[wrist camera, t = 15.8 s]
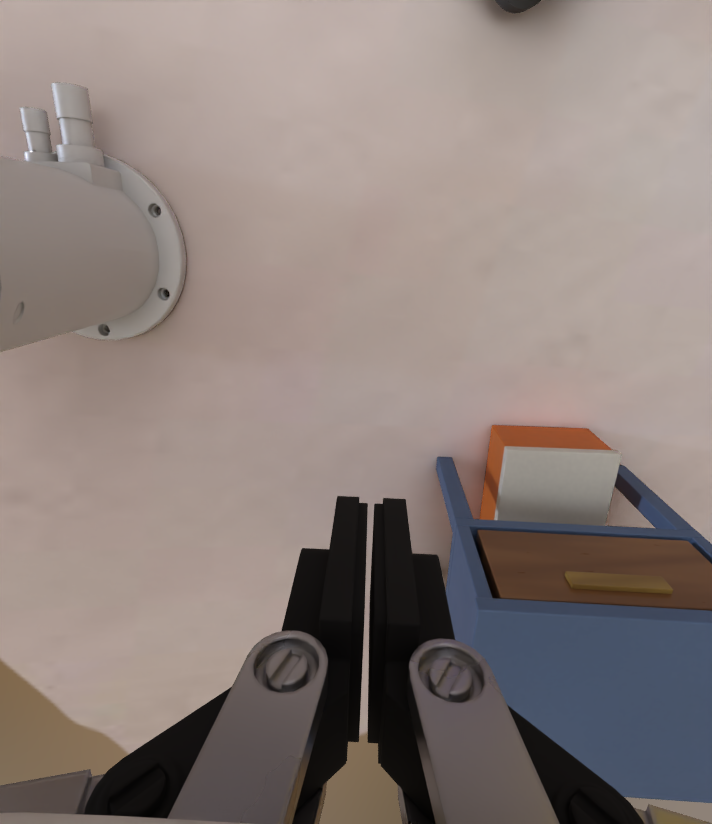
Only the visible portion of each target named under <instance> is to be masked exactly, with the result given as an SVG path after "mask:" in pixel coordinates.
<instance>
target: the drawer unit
mask: <svg viewBox="0 0 712 824" xmlns="http://www.w3.org/2000/svg"><path fill="white" fill-rule="evenodd" d="M436 470H437V474H438V478H439V482H440V486H441V490H442V493H443V497H444V501H445V505H446V509H447V513H448V517H449V520H450V524H451V528H452V532H453V536H452V544H451V552H450V561H449V569H448V577H447V585H446V596H447V601H448V606H449V611H450V616H451V621H452V626H453V631H454V636H455V640H456V641H459V642H462V643H465V644H466V645H468V646H470V647H472V648H473V649H475V650H476V651H477V652H478V653H479V654H480V655H481V656H482V657H484V658H485V660H486V662H487V663H488V665H489V666H490V668H491V670H492V672H493V674H494V677H495V679H496V681H497V683H498V686H499V688H500V690H501V692H502V695H503V697H504V699H505V702H506V704H507V705H508V706H509V707H511V708H512V709H513V710H515V711H516V712H517V713H518V714H520V715H521V716H522V717H524V718H525V719H526V720H527V721H529V722H530V723H531V724H532V725H534V726H535V727H536V728H538V729H539V730H540V731H541V732H543V733H544V734H545V735H547V736H548V737H549V738H550V739H552V740H553V741H554V742H556V743H557V744H558V745H559V746H561V747H562V748H563V749H565V750H566V751H567V752H568V753H570V754H571V755H572V756H574V757H575V758H576V759H577V760H579V761H580V762H581V763H582V764H584V765H585V766H586V767H588V768H589V769H590V770H591V771H593V772H594V773H595V774H597V775H598V776H599V777H600V778H602V779H603V780H604V781H606V782H607V783H608V784H609V785H611V786H612V787H613V788H615V789H616V790H617V791H618V792H619V793H620V794H621V795H622V796H623V797H633V798H647V799H661V800H675V801H689V802H704V803H712V611H707V610H690V609H672V608H655V607H637V606H619V605H602V604H584V603H567V602H549V601H531V600H514V599H496V598H492V595H491V592H490V589H489V586H488V583H487V580H486V576H485V573H484V570H483V567H482V564H481V561H480V550H479V547H478V544H477V541H476V536H477V530H492V531H511V532H530V533H549V534H568V535H588V536H607V537H626V538H645V539H664V540H683V541H688V542H689V543H690V544H691V545H693V546H694V547H695V548H696V549H697V550H698V551H699V552H700V553H701V554H702V555H703V556H704V557H705V558H706V559H707V560H708V561H709V562H710V563H711V564H712V544H711V543H710V542H709V541H707V540H706V539H705V538H704V537H703V536H702V535H701V534H700V533H698V532H697V531H695V529H694V528H693V527H691V526H690V525H689V524H688V523H687V522H686V521H685V520H684V519H683V518H681V517H680V516H679V515H678V514H677V513H676V512H675V511H674V510H673V509H672V508H670V507H669V506H668V505H667V504H666V503H665V502H664V501H663V500H662V499H660V498H659V497H658V496H657V495H656V494H655V493H654V492H653V491H652V490H650V489H649V488H648V487H647V486H646V485H645V484H644V483H643V482H642V481H640V480H639V479H638V478H637V477H636V476H635V475H634V474H633V473H632V472H630V471H629V470H628V469H627V468H626V467H625V466H620V465H619V469H618V473H617V477H616V481H615V487H616V488H617V489H618V490H619V491H620V492H621V493H622V494H623V495H624V496H625V497H626V498H627V499H628V500H629V501H630V502H631V503H632V504H633V505H634V506H635V507H636V508H637V509H638V510H639V511H640V512H641V513H642V514H643V515H644V517H645V518H646V519H647V520H648V521H649V522H650V523H651V524H652V525H653V526H654V527H655V528H637V527H617V526H598V525H579V524H559V523H540V522H520V521H501V520H482V519H473V517H472V514H471V511H470V508H469V506H468V503H467V500H466V497H465V494H464V491H463V488H462V485H461V482H460V480H459V477H458V474H457V471H456V468H455V465H454V462H453V459H452V458H451V457H437V466H436Z"/></svg>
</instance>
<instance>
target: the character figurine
mask: <svg viewBox="0 0 712 824" xmlns="http://www.w3.org/2000/svg"><path fill="white" fill-rule="evenodd" d="M495 1H496V2H497V4H498V5H499V6H500V7H501V8H502V9H504V10H505V11H507V12H510V13H520V12H523V11H526V10H527V9H529V8H531V7H533V6H535V5H536V4H538V3H539V2H540V1H541V0H495Z"/></svg>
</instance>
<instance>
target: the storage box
mask: <svg viewBox="0 0 712 824" xmlns="http://www.w3.org/2000/svg"><path fill="white" fill-rule="evenodd" d="M621 456H622V454H621V453H620V452H619V451H617V450H612V449H610V448H609V447H608V446H607V445H606V444H605V443H604V442H602V441H601V440H600V439H599V438H598V437H597V436H596V435H595V434H593V433H592V432H591V431H590V430H589V429H586V428H558V427H530V426H503V425H492V428H491V436H490V444H489V451H488V459H487V467H486V474H485V482H484V489H483V497H482V505H481V512H480V519H482V520H501V521H520V522H540V523H559V524H579V525H598V526H605V523H606V519H607V515H608V511H609V506H610V502H611V498H612V494H613V490H614V486H615V481H616V477H617V473H618V469H619V465H620V461H621Z"/></svg>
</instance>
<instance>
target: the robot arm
mask: <svg viewBox="0 0 712 824" xmlns="http://www.w3.org/2000/svg"><path fill="white" fill-rule="evenodd" d="M51 87H52V93H53V99H54V105H55V111H56V117H57V119H58V120H59V125H60V131H61V137H62V144H60V145H56V149H57V151H55V152H52V147H51V141H50V135H51V134H50V128H49V122H48V117H47V112H46V111H45V110H42V109H38V108H32V107H20V113H21V119H22V124H23V129H24V132H25V133H26V139H27V144H28V149H29V151H26V152H24V157H25V161H22V160H18V159H14V158H9V157H5V156H1V155H0V352H3V351H6V350H10V349H13V348H17V347H20V346H24V345H27V344H31V343H34V342H38V341H41V340H45V339H48V338H52V337H55V336H58V335H62V334H65V333H69V332H73V333H76V334H78V335H81V336H84V337H87V338H92V339H98V340H122V339H126V338H131V337H135V336H137V335H140V334H142V333H145V332H147V331H148V330H150V329H152V328H154V327H155V326H157V325H158V324H159V323H160V322H162V321H163V320H164V319H165V318H166V317H167V316H168V315H169V313H170V312H171V311H172V309H173V308H174V306H175V305H176V303H177V301H178V299H179V296H180V294H181V291H182V289H183V285H184V280H185V275H186V251H185V245H184V240H183V235H182V232H181V229H180V227H179V224H178V221H177V218H176V216H175V215H174V213H173V211H172V209H171V207H170V206H169V204H168V202H167V201H166V199H165V198H164V197H163V195H162V194H161V193H160V192H159V190H158V189H157V188H156V187H155V185H153V184H152V183H151V182H150V181H149V180H148V179H147V178H146V177H145V176H144V175H142V174H141V173H140V172H139V171H137V170H136V169H134V168H132V167H131V166H129V165H128V164H126V163H125V162H123V161H120V160H118V159H115V158H113V157H110V156H108V155H105V154H103V153H102V150H100V149H98V148H95V143H94V136H93V129H92V124H93V121H92V114H91V107H90V99H89V92H88V89H86V88H85V87H82V86H79V85H75V84H70V83H60V82H57V83H52V84H51ZM159 207H160V209H161V214H160V215H159V214H158V212H157V209H158V208H159ZM166 290H168V291H169V294H170V296H167V295H166ZM108 327H109V329H110V330H109V329H108ZM367 507H368V503H359V497H346V496H337V502H336V509H335V516H334V522H333V529H332V536H331V542H330V549H308V548H302V550H301V553H300V557H299V561H298V565H297V569H296V573H295V578H294V582H293V586H292V590H291V594H290V598H289V602H288V607H287V611H286V615H285V619H284V623H283V627H282V631H281V632H277V633H274V634H271V635H269V636H267V637H265V638H263V639H262V640H261V641H260V642H258V643H257V644H256V645H255V646H254V647H253V648H252V650H251V651H250V653H249V654H248V656H247V658H246V660H245V662H244V664H243V666H242V668H241V670H240V672H239V674H238V676H237V678H236V680H235V682H234V684H233V686H232V687H231V688H229V689H228V690H226V691H225V692H223V693H222V694H220V695H219V696H217V697H216V698H214V699H213V700H211V701H210V702H208V703H207V704H205V705H204V706H202V707H200V708H199V709H197V710H196V711H194V712H193V713H191V714H190V715H188V716H187V717H185V718H184V719H182V720H181V721H179V722H178V723H176V724H175V725H173V726H172V727H170V728H169V729H167V730H166V731H164V732H162V733H161V734H159V735H158V736H156V737H155V738H153V739H152V740H150V741H149V742H147V743H146V744H144V745H143V746H141V747H140V748H138V749H137V750H135V751H134V752H132V753H131V754H129V755H128V756H126V757H124V758H123V759H122V760H121V761H119V762H118V763H117V764H116V765H114V766H113V767H112V768H111V769H109V770H108V771H107V773H106V774H103V775H98V776H92V774H91V770H90V769H89V770H84V771H78V772H73V773H67V774H61V775H56V776H51V777H45V778H39V779H34V780H28V781H23V782H17V783H12V784H6V785H1V786H0V824H319V822H320V818H321V813H322V809H323V804H324V800H325V795H326V785H327V781H328V780H329V779H330V778H331V777H332V776H333V775H334V774H335V773H336V772H337V771H338V770H339V769H341V767H343V766H344V765H345V764H346V761H347V747H348V742H359V724H360V702H361V680H362V658H363V636H364V609H365V575H366V541H367ZM368 743H378V763H380V764H381V767H382V768H383V769H384V770H385V771H386V772H387V773H388V774H389V775H390V776H391V778H392V779H393V780H394V781H395V782H396V783H397V784H398V800H399V806H400V811H401V818H402V824H712V823H709V822H706V821H703V820H699V819H696V818H693V817H690V816H686V815H683V814H680V813H676V812H673V811H670V810H666V809H663V808H659V807H656V806H653V805H648V807H647V810H646V811H643V810H640V809H636V808H633V806H632V805H631V804H630V803H629V802H628V801H627V800H626V799H625V798H624V797H623V796H622V795H621V794H620V793H619V792H618V791H617V790H616V789H615V788H613V787H612V786H611V785H609V784H608V783H607V782H606V781H604V780H603V779H602V778H600V777H599V776H598V775H597V774H595V773H594V772H593V771H591V770H590V769H589V768H588V767H586V766H585V765H584V764H582V763H581V762H580V761H579V760H577V759H576V758H575V757H574V756H572V755H571V754H570V753H568V752H567V751H566V750H565V749H563V748H562V747H561V746H559V745H558V744H557V743H556V742H554V741H553V740H552V739H550V738H549V737H548V736H547V735H545V734H544V733H543V732H541V731H540V730H539V729H538V728H536V727H535V726H534V725H532V724H531V723H530V722H529V721H527V720H526V719H525V718H524V717H522V716H521V715H520V714H518V713H517V712H516V711H515V710H513V709H512V708H511V707H509V706H508V705H507V704H506V702H505V699H504V697H503V695H502V692H501V690H500V688H499V686H498V683H497V681H496V679H495V677H494V674H493V672H492V670H491V668H490V666H489V665H488V663H487V662H486V660H485V658H484V657H482V656H481V655H480V654H479V653H478V652H477V651H476V650H475V649H473V648H472V647H470V646H468V645H466V644H465V643H462V642H459V641H456V640H455V636H454V631H453V626H452V621H451V616H450V611H449V606H448V601H447V596H446V591H445V586H444V581H443V576H442V571H441V566H440V561H439V558H438V556H437V555H431V554H412V549H411V541H410V532H409V524H408V515H407V507H406V500H405V499H390V498H383V504H375V505H374V525H373V545H372V565H371V585H370V619H369V684H368Z"/></svg>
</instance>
